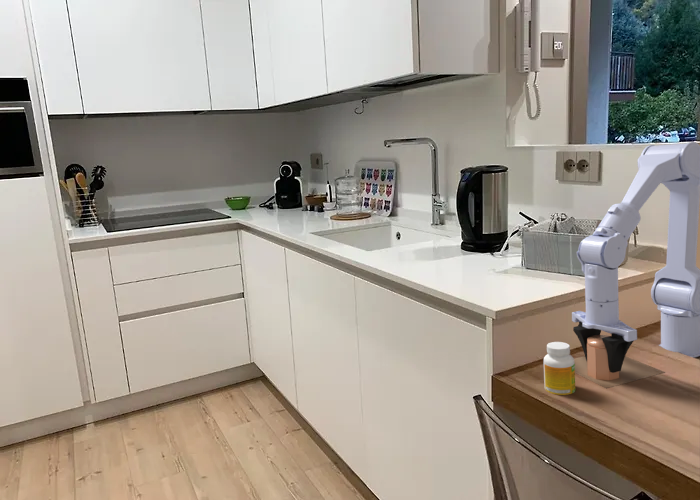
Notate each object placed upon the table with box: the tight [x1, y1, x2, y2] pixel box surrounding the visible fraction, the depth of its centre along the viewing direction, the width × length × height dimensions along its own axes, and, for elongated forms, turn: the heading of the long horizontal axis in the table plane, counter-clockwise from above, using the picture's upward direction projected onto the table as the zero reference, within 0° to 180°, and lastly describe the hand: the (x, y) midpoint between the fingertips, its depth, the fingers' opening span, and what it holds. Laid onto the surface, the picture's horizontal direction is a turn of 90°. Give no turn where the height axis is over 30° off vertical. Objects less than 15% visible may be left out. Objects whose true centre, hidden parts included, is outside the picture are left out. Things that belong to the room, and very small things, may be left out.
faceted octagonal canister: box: [587, 334, 619, 380], centre depth 103 cm, size 6×6×7 cm
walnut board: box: [573, 355, 666, 389], centre depth 107 cm, size 14×14×1 cm
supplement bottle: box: [543, 341, 576, 396], centre depth 99 cm, size 5×5×10 cm
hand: (603, 365), depth 104 cm, fingers closed on faceted octagonal canister, 5 cm apart
